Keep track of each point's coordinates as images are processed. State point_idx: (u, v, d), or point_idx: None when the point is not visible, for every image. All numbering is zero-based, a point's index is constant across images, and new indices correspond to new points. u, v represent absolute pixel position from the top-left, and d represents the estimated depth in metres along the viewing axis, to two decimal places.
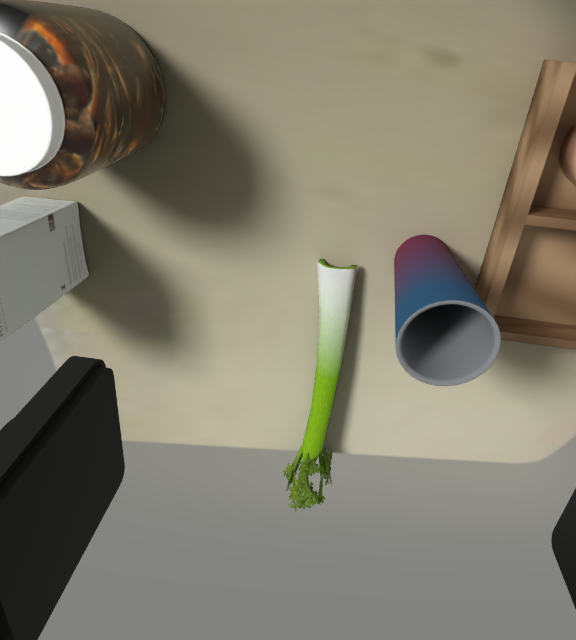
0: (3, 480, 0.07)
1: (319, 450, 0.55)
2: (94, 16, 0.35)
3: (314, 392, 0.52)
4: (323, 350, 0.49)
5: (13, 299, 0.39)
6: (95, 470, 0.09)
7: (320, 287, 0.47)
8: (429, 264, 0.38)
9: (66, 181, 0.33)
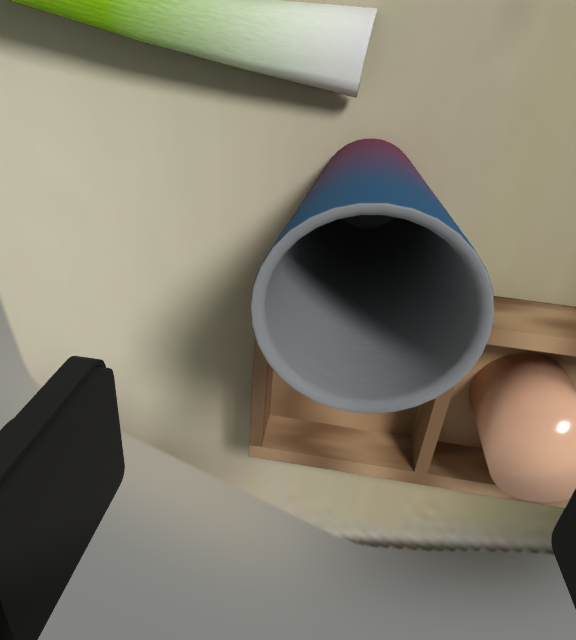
0: (3, 480, 0.07)
1: None
2: None
3: None
4: None
5: None
6: (95, 470, 0.09)
7: (322, 8, 0.22)
8: None
9: None
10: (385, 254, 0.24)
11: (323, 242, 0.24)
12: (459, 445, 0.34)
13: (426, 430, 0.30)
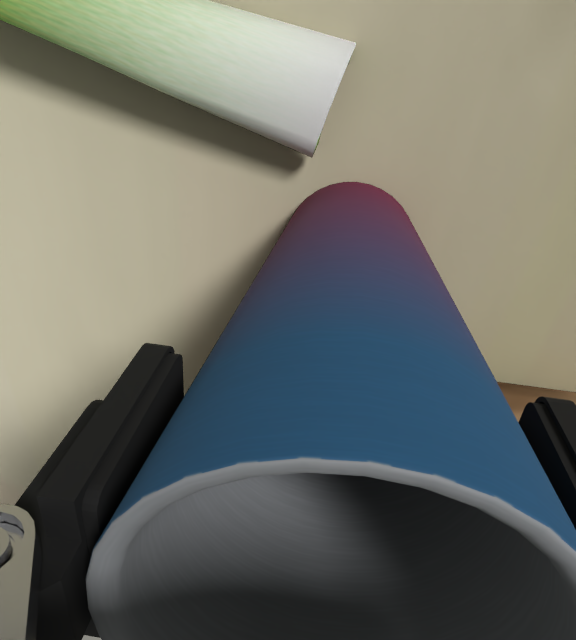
0: (106, 453, 0.07)
1: None
2: None
3: None
4: None
5: None
6: None
7: (278, 28, 0.15)
8: None
9: None
10: None
11: None
12: None
13: None
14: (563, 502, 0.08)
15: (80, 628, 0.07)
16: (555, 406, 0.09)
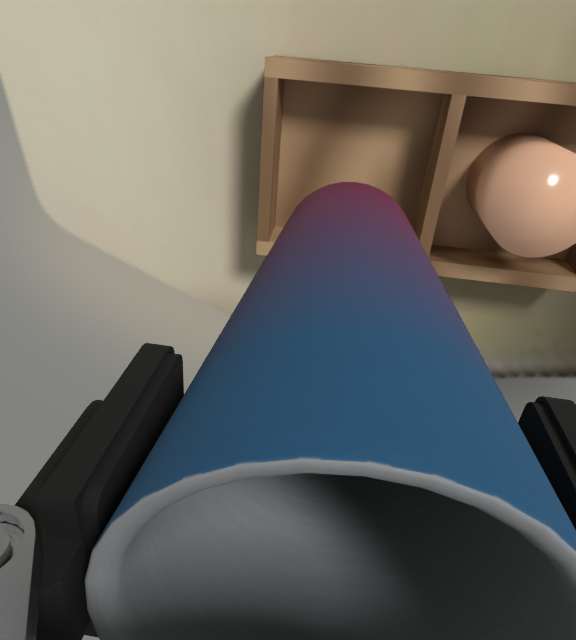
0: (106, 453, 0.07)
1: None
2: None
3: None
4: None
5: None
6: None
7: None
8: None
9: None
10: None
11: None
12: (457, 247, 0.35)
13: (427, 208, 0.31)
14: (563, 502, 0.08)
15: (80, 628, 0.07)
16: (555, 406, 0.09)
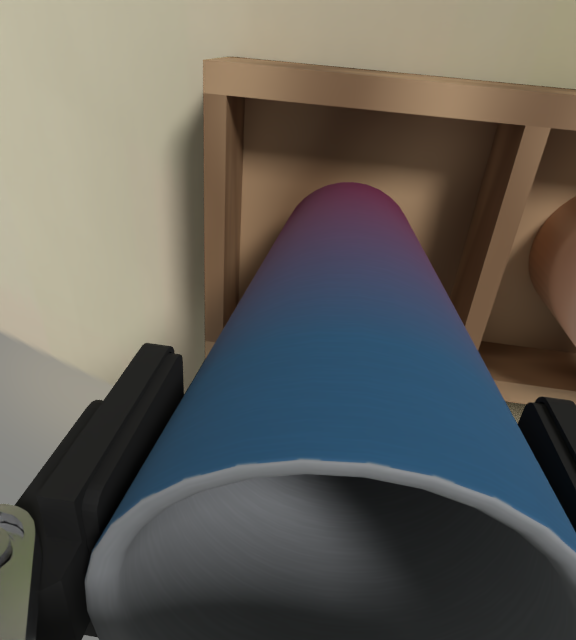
0: (106, 453, 0.07)
1: None
2: None
3: None
4: None
5: None
6: None
7: None
8: None
9: None
10: None
11: None
12: (510, 345, 0.23)
13: (472, 302, 0.19)
14: (563, 502, 0.08)
15: (80, 628, 0.07)
16: (555, 406, 0.09)
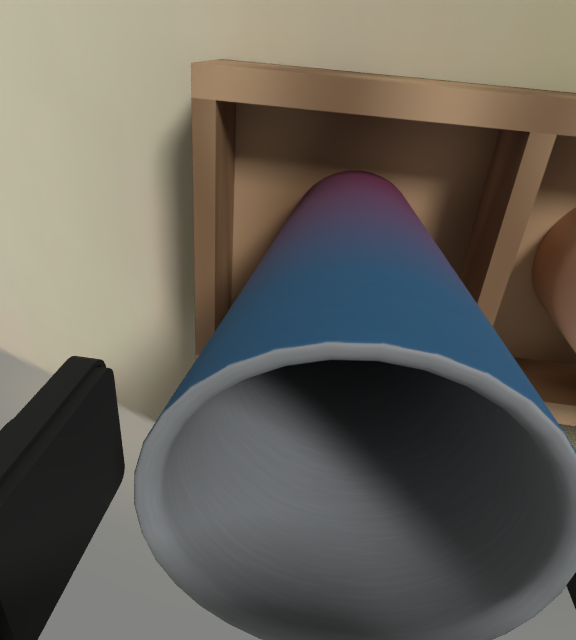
0: (3, 480, 0.07)
1: None
2: None
3: None
4: None
5: None
6: (95, 470, 0.09)
7: None
8: None
9: None
10: None
11: None
12: None
13: None
14: None
15: None
16: None
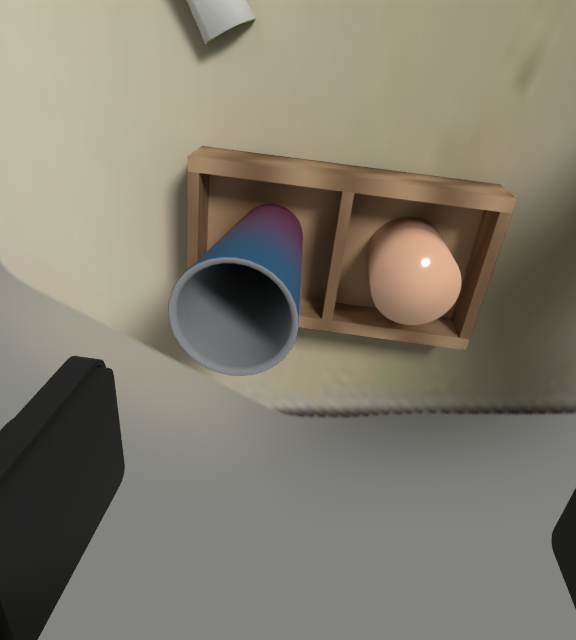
0: (3, 480, 0.07)
1: None
2: None
3: None
4: None
5: None
6: (95, 470, 0.09)
7: None
8: (299, 263, 0.31)
9: None
10: None
11: (234, 274, 0.35)
12: (362, 306, 0.41)
13: (328, 278, 0.37)
14: None
15: None
16: None
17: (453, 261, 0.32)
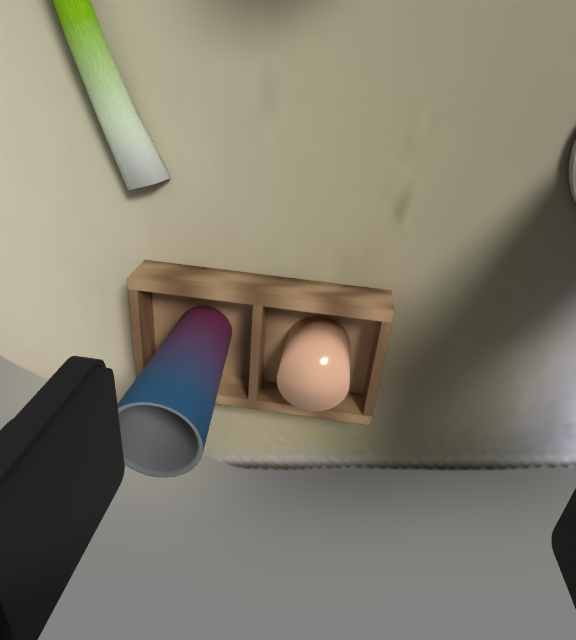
0: (3, 480, 0.07)
1: None
2: None
3: None
4: (101, 65, 0.35)
5: None
6: (95, 470, 0.09)
7: (151, 151, 0.38)
8: (217, 374, 0.39)
9: None
10: None
11: None
12: None
13: (250, 368, 0.44)
14: None
15: None
16: None
17: (340, 365, 0.39)
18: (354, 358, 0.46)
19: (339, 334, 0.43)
